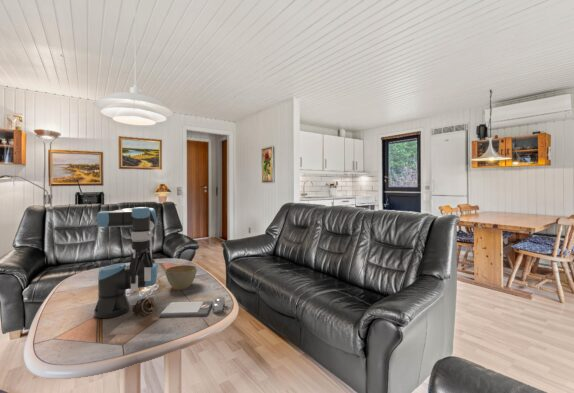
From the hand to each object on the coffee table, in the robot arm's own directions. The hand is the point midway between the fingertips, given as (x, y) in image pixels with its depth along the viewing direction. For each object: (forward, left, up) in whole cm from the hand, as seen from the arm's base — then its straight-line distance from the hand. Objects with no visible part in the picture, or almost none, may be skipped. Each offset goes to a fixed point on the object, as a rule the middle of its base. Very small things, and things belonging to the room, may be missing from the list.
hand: (141, 285), depth 130 cm
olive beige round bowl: (+6, +41, -16) cm, 45 cm away
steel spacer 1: (+34, +12, -16) cm, 40 cm away
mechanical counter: (0, 0, -16) cm, 16 cm away
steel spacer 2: (+34, +5, -16) cm, 38 cm away
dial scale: (+19, +8, -16) cm, 26 cm away
